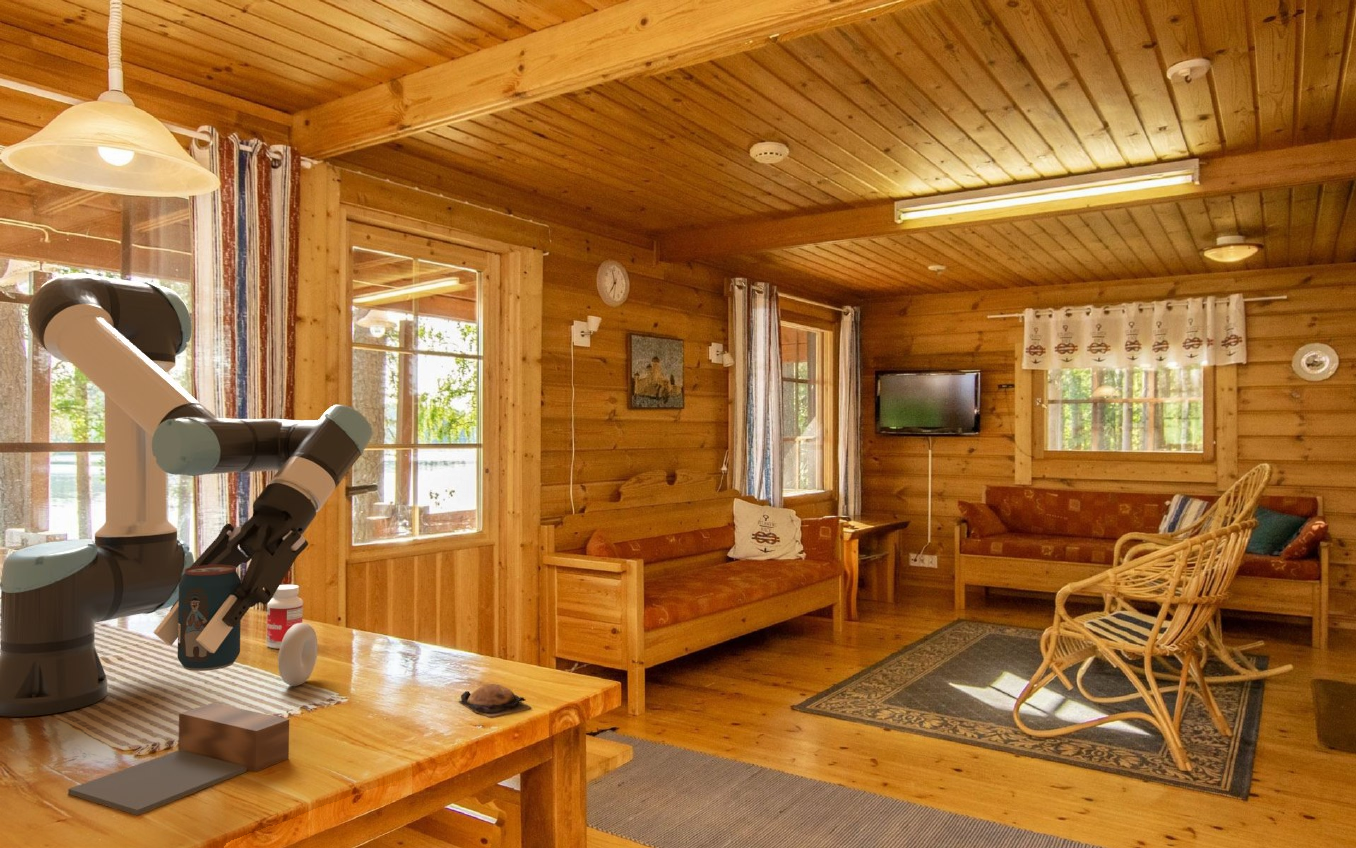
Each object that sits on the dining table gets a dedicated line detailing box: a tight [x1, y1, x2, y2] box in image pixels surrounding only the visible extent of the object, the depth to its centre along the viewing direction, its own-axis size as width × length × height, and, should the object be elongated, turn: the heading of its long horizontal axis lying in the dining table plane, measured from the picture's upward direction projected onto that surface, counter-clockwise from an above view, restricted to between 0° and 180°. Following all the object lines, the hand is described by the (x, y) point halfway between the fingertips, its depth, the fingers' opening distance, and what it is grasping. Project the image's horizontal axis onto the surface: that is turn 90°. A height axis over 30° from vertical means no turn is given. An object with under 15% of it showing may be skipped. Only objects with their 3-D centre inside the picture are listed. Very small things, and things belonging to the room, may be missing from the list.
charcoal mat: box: [67, 750, 247, 816], centre depth 109 cm, size 12×14×1 cm
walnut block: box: [177, 702, 290, 773], centre depth 118 cm, size 14×5×5 cm, turn 65°
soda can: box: [177, 565, 242, 672], centre depth 114 cm, size 7×7×12 cm
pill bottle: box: [266, 584, 304, 650], centre depth 173 cm, size 6×6×11 cm
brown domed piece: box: [458, 683, 532, 719], centre depth 141 cm, size 11×8×4 cm
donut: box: [277, 622, 319, 687], centre depth 149 cm, size 10×4×10 cm, turn 0°
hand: (183, 642), depth 111 cm, fingers closed on soda can, 7 cm apart
